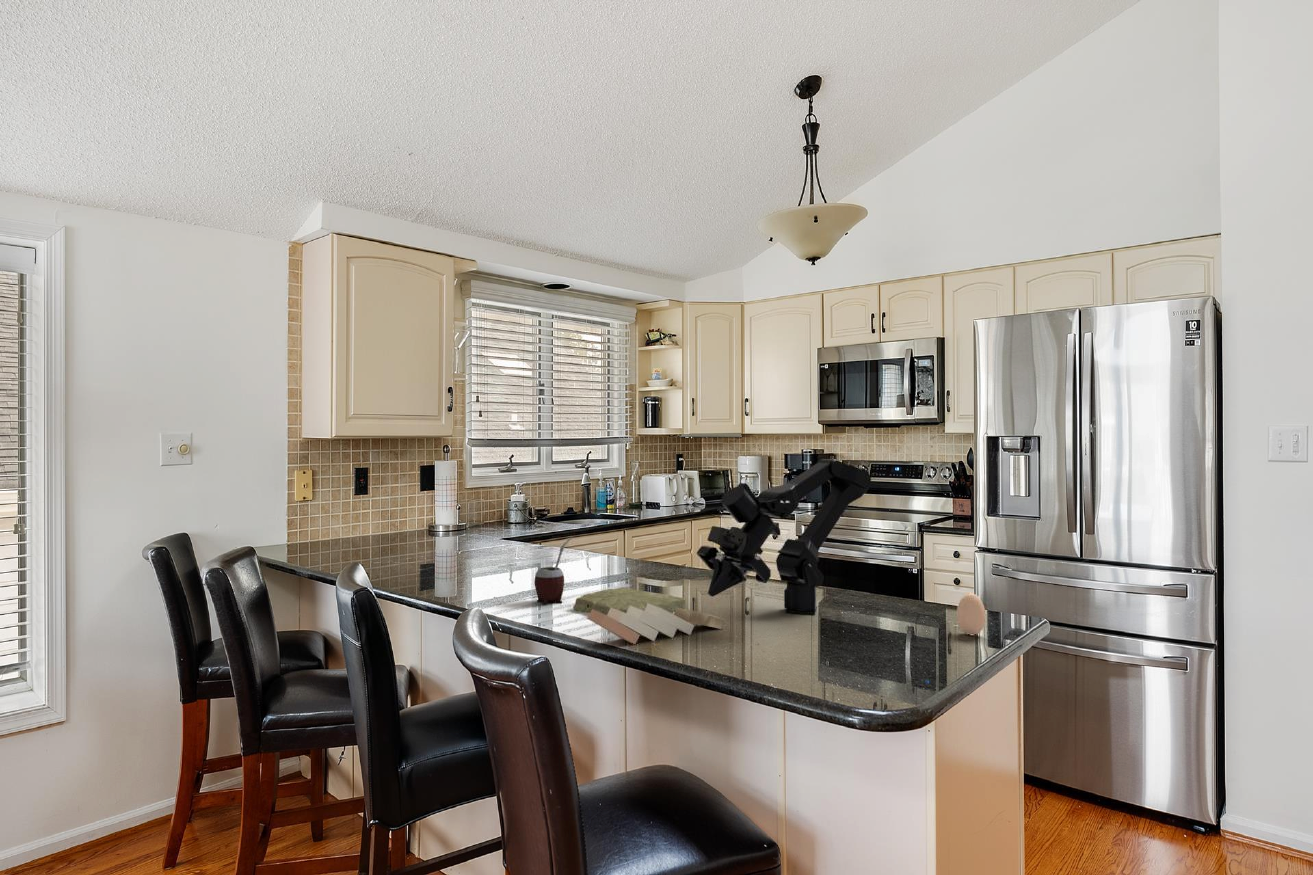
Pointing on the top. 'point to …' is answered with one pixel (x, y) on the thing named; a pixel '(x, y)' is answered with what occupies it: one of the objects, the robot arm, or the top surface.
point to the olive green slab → (626, 600)
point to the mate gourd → (550, 582)
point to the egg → (971, 614)
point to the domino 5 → (699, 618)
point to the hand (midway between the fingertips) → (710, 594)
